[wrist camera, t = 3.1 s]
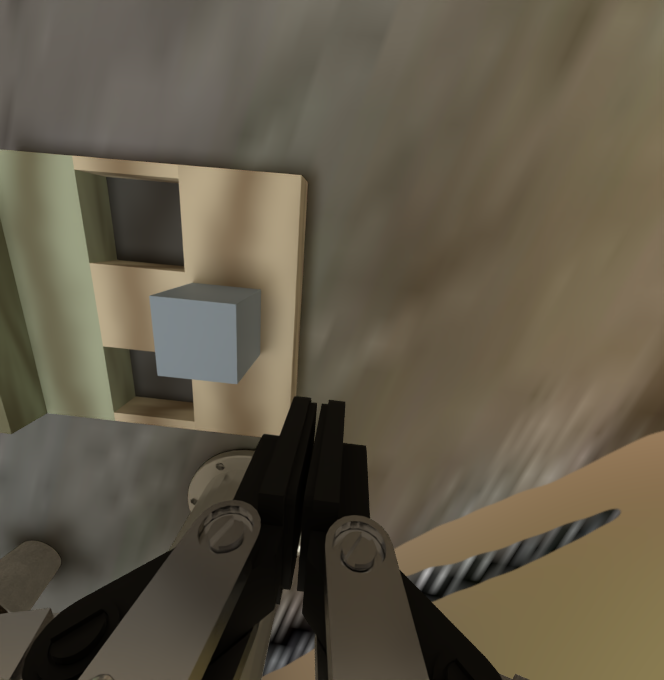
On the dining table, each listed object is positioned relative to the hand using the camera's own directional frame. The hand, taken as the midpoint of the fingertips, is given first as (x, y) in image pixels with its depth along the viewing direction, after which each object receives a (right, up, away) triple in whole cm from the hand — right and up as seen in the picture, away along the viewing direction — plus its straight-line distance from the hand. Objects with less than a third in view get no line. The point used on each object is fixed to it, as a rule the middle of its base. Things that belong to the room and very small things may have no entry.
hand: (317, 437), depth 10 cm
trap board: (-13, +6, +16) cm, 22 cm away
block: (-7, +5, +13) cm, 16 cm away
